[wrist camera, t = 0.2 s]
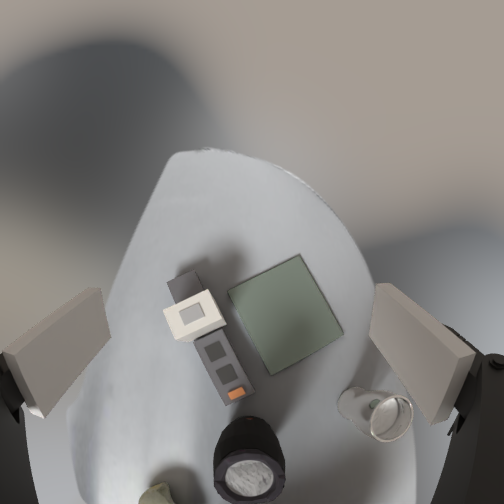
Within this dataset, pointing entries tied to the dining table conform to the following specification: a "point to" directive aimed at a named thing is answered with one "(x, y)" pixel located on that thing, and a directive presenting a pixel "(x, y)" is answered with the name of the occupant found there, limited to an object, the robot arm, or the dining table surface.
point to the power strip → (214, 348)
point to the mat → (285, 314)
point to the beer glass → (377, 412)
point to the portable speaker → (248, 462)
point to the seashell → (157, 495)
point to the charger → (194, 317)
